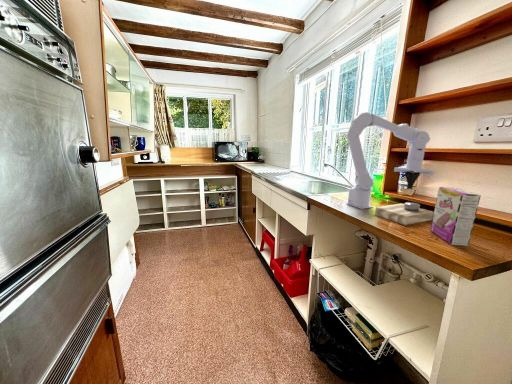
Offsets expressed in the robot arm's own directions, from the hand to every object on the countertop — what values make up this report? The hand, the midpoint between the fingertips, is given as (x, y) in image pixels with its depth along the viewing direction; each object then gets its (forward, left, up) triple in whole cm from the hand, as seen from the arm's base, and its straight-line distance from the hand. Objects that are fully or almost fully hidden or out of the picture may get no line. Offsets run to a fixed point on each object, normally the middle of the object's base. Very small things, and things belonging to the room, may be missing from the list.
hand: (409, 188), depth 98 cm
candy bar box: (+26, -20, -11) cm, 34 cm away
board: (+7, -13, -10) cm, 17 cm away
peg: (+8, -10, -10) cm, 16 cm away
